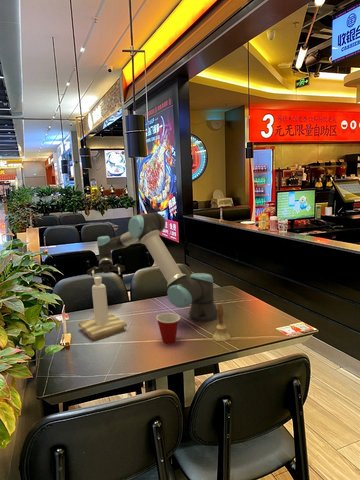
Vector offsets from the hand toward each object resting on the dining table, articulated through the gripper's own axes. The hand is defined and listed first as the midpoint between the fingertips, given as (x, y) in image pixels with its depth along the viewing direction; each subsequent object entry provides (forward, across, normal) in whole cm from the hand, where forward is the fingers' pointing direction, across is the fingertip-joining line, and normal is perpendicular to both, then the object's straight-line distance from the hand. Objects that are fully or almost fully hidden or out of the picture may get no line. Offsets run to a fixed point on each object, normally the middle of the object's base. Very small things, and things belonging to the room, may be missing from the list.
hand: (106, 273), depth 188 cm
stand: (+12, +4, -26) cm, 29 cm away
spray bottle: (+12, +4, -22) cm, 25 cm away
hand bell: (+39, -49, -27) cm, 68 cm away
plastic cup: (+35, -25, -27) cm, 51 cm away
